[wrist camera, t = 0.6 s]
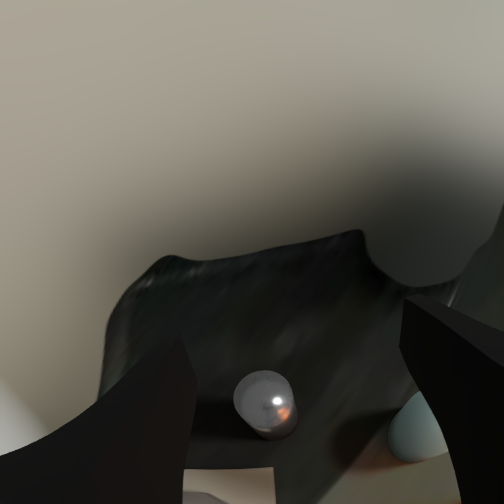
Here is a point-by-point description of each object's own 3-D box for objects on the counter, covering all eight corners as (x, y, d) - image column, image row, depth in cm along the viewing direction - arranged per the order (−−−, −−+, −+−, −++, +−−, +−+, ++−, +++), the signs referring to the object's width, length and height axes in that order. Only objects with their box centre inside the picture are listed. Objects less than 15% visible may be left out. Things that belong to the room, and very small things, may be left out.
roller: (450, 451, 19) (474, 440, 15) (392, 470, 19) (408, 465, 16) (437, 397, 22) (457, 377, 19) (382, 413, 23) (394, 397, 19)
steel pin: (300, 437, 23) (295, 420, 18) (253, 442, 24) (234, 426, 19) (296, 396, 26) (289, 366, 21) (251, 401, 26) (232, 373, 21)
